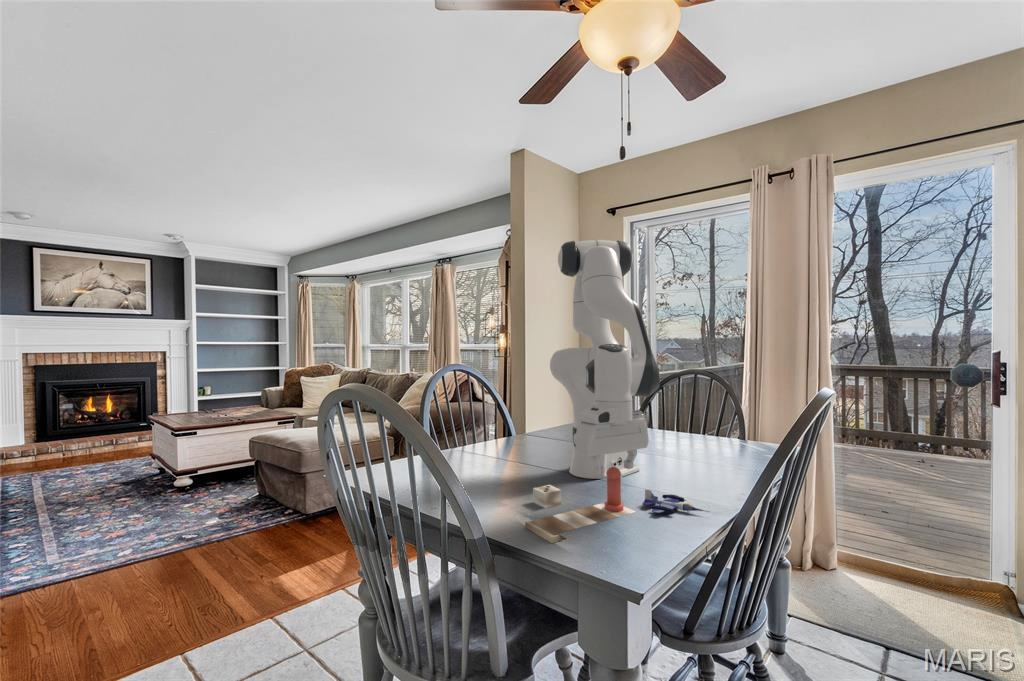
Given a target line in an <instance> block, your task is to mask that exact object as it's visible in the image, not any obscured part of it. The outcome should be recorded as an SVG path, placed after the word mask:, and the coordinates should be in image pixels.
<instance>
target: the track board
mask: <svg viewBox="0 0 1024 681" xmlns="http://www.w3.org/2000/svg"><path fill="white" fill-rule="evenodd" d="M634 513H637V511H636V510H633V509H631V508H630V507H629V508H628V507H626V506H624V510H623V511H620V512H611V511H607V510H606V509H605V502H602V503H598V504H594V505H589V506H586V507H582V508H577V509H574V510H569V511H565V512H561V513H557V514H554V515H550V516H545V517H542V518H537V519H532V520H528V521H525V522H524V526H525V527H526V528H525V529H527V530H528V531H530V532H532V533H533V534H535V535H537V536H539V537H541V538H542V539H544V540H545V541H547V542H549V543H550V544H555V543H558V542H561V541H565V540H567V538H566V537H564V536H562V535H560V534H562V533H565V532H568V531H572V530H575V529H579V528H583V527H587V526H590V525H594V524H597V523H602V522H604V521H608V520H612V519H615V518H619V517H623V516H627V515H630V514H634Z"/></svg>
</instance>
